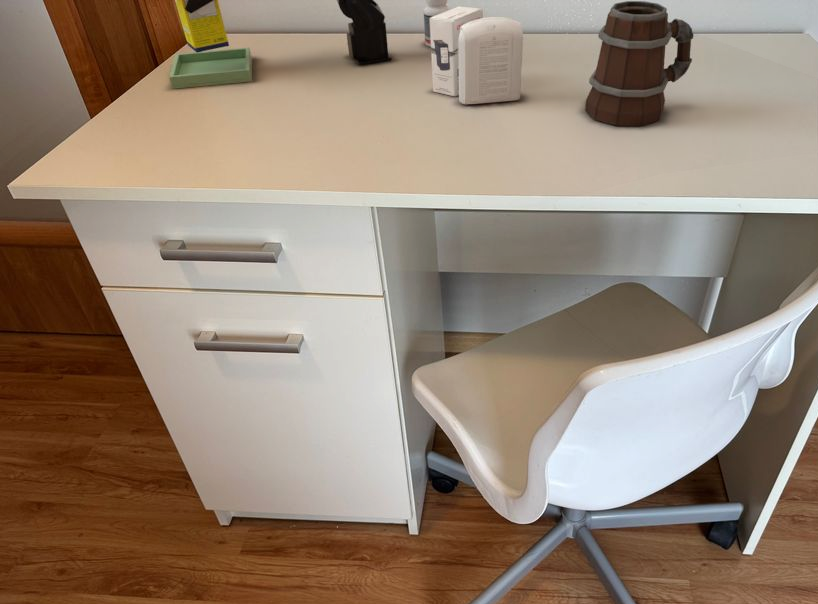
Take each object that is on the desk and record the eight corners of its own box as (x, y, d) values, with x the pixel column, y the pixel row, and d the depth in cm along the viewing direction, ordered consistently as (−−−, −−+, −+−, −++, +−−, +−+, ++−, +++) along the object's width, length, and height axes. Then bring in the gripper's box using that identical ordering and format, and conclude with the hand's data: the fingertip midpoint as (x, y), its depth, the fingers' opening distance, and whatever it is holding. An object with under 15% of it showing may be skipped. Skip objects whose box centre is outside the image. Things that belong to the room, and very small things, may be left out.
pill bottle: (448, 48, 131) (446, -2, 125) (422, 47, 132) (419, -3, 126) (454, 40, 135) (452, -9, 129) (428, 39, 136) (426, -9, 130)
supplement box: (219, 39, 122) (202, -29, 115) (229, 46, 118) (212, -23, 111) (186, 45, 120) (167, -24, 113) (196, 53, 116) (176, -17, 109)
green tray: (251, 58, 128) (249, 47, 127) (251, 81, 118) (249, 69, 117) (178, 65, 126) (175, 53, 125) (172, 89, 116) (169, 77, 115)
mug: (605, 131, 99) (618, 21, 89) (574, 102, 108) (584, 0, 98) (701, 119, 102) (724, 12, 92) (663, 92, 111) (681, -8, 101)
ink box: (460, 77, 118) (458, 4, 110) (483, 82, 116) (484, 8, 108) (431, 92, 113) (428, 16, 105) (455, 97, 111) (454, 20, 103)
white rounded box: (516, 92, 112) (519, 11, 104) (524, 101, 109) (527, 19, 101) (456, 98, 110) (454, 17, 102) (462, 107, 107) (460, 24, 99)
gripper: (196, -121, 111) (149, -40, 117) (189, -108, 98) (135, -17, 103) (255, -69, 118) (208, 5, 123) (256, -50, 104) (203, 33, 109)
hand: (189, 6), depth 114 cm, fingers closed on supplement box, 7 cm apart
